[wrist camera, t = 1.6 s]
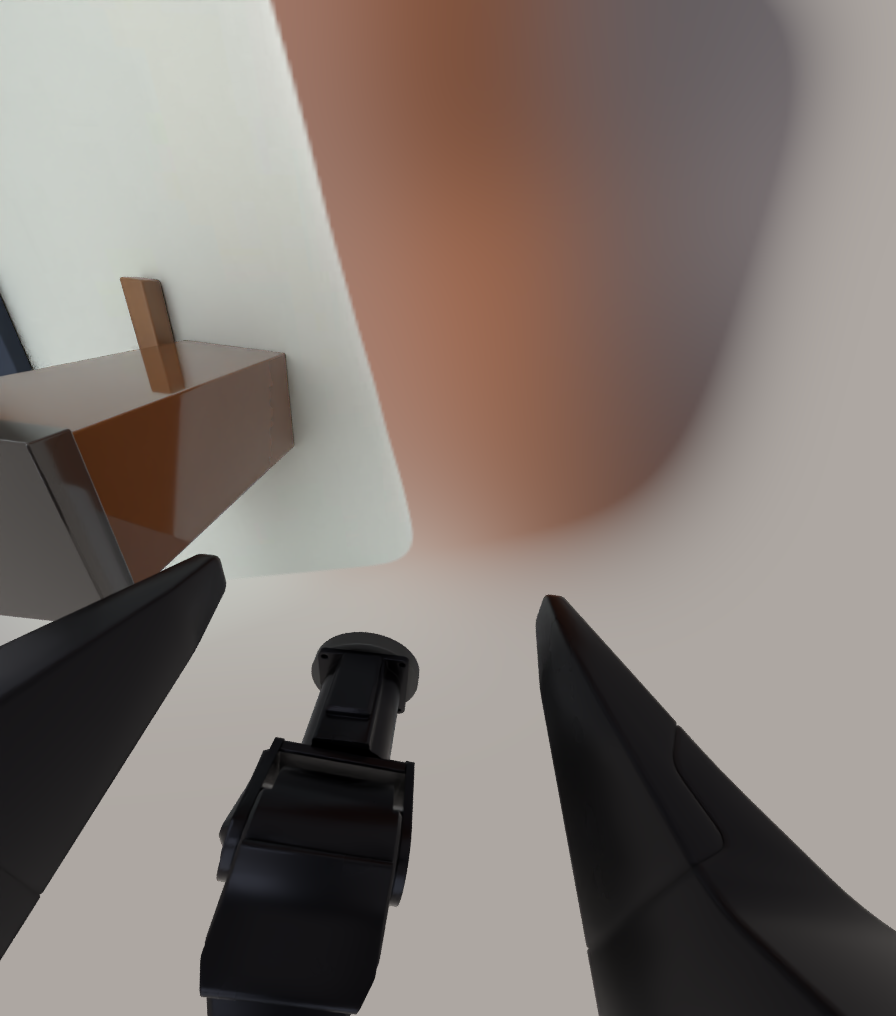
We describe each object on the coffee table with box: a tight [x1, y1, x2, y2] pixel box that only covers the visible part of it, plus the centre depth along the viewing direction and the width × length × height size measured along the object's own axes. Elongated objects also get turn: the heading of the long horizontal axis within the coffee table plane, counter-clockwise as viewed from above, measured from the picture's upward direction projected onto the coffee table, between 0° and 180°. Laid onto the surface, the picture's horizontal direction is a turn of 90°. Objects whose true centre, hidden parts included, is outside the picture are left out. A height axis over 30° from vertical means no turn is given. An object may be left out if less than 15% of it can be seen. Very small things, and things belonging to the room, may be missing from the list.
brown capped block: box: [0, 340, 294, 621], centre depth 14 cm, size 5×5×13 cm
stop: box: [120, 277, 174, 349], centre depth 19 cm, size 10×1×1 cm, turn 173°
